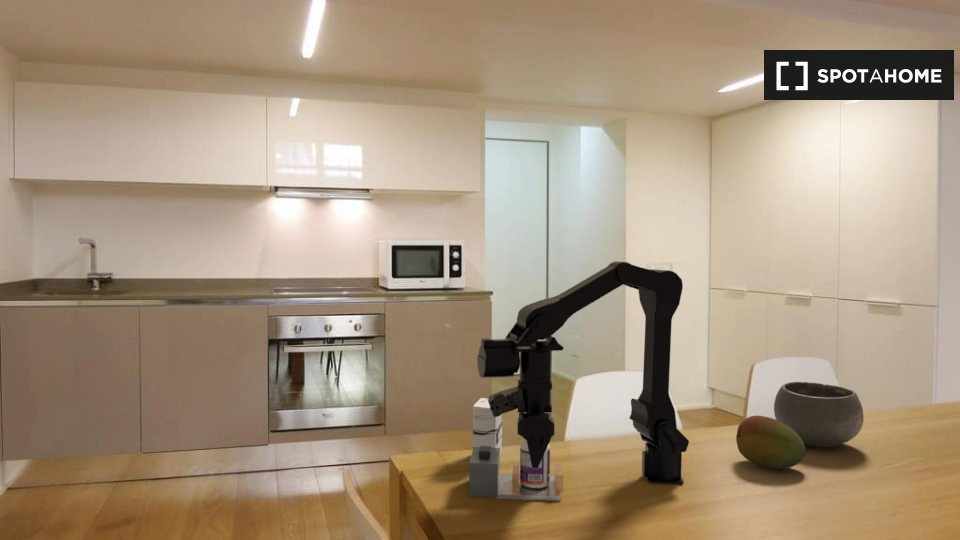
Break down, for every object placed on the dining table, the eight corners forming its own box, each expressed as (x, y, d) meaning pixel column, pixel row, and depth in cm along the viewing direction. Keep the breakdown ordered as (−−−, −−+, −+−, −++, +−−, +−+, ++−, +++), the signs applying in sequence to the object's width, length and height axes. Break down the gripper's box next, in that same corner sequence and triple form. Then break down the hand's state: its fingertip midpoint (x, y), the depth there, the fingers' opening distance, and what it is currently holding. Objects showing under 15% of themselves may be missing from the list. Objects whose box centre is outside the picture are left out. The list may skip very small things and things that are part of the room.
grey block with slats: (560, 480, 124) (560, 442, 124) (563, 501, 114) (563, 460, 114) (473, 477, 125) (473, 440, 125) (468, 497, 115) (469, 457, 115)
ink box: (495, 466, 131) (496, 408, 131) (471, 464, 132) (471, 406, 132) (502, 453, 140) (503, 398, 139) (479, 451, 141) (480, 397, 140)
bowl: (864, 440, 150) (866, 385, 150) (860, 462, 135) (862, 401, 135) (779, 428, 160) (780, 376, 159) (767, 447, 145) (768, 390, 144)
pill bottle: (533, 477, 123) (534, 425, 123) (555, 484, 119) (556, 430, 119) (513, 483, 120) (514, 429, 120) (535, 490, 116) (536, 435, 116)
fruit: (731, 454, 140) (732, 408, 139) (795, 459, 137) (796, 411, 137) (741, 473, 128) (743, 423, 128) (811, 478, 126) (812, 427, 125)
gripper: (493, 364, 128) (493, 443, 129) (487, 385, 110) (487, 477, 110) (551, 365, 128) (550, 445, 128) (555, 387, 109) (554, 479, 110)
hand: (534, 460), depth 119 cm, fingers open, 7 cm apart
